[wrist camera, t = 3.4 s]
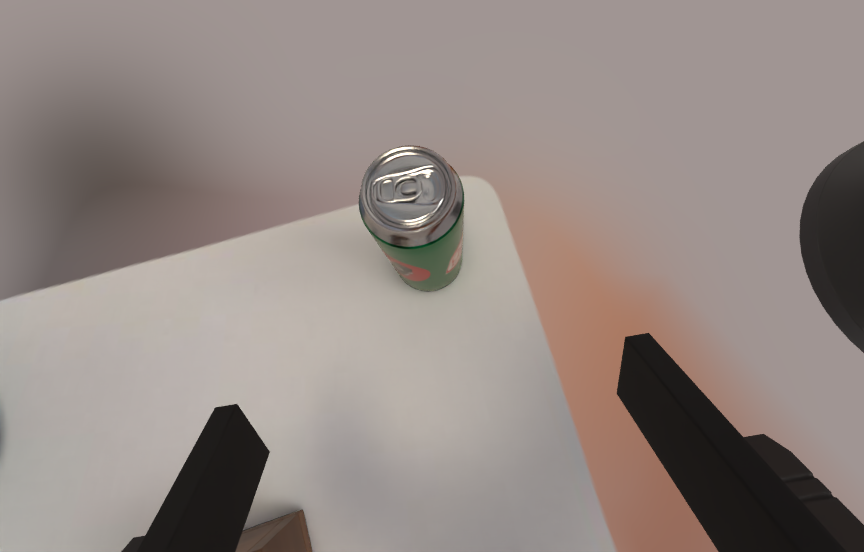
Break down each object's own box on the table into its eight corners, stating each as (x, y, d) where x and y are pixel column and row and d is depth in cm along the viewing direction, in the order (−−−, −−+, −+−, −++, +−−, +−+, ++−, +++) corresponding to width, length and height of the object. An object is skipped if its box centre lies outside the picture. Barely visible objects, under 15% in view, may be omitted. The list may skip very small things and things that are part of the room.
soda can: (464, 289, 27) (469, 235, 15) (398, 295, 27) (353, 246, 15) (458, 226, 28) (459, 132, 16) (395, 232, 28) (350, 143, 17)
